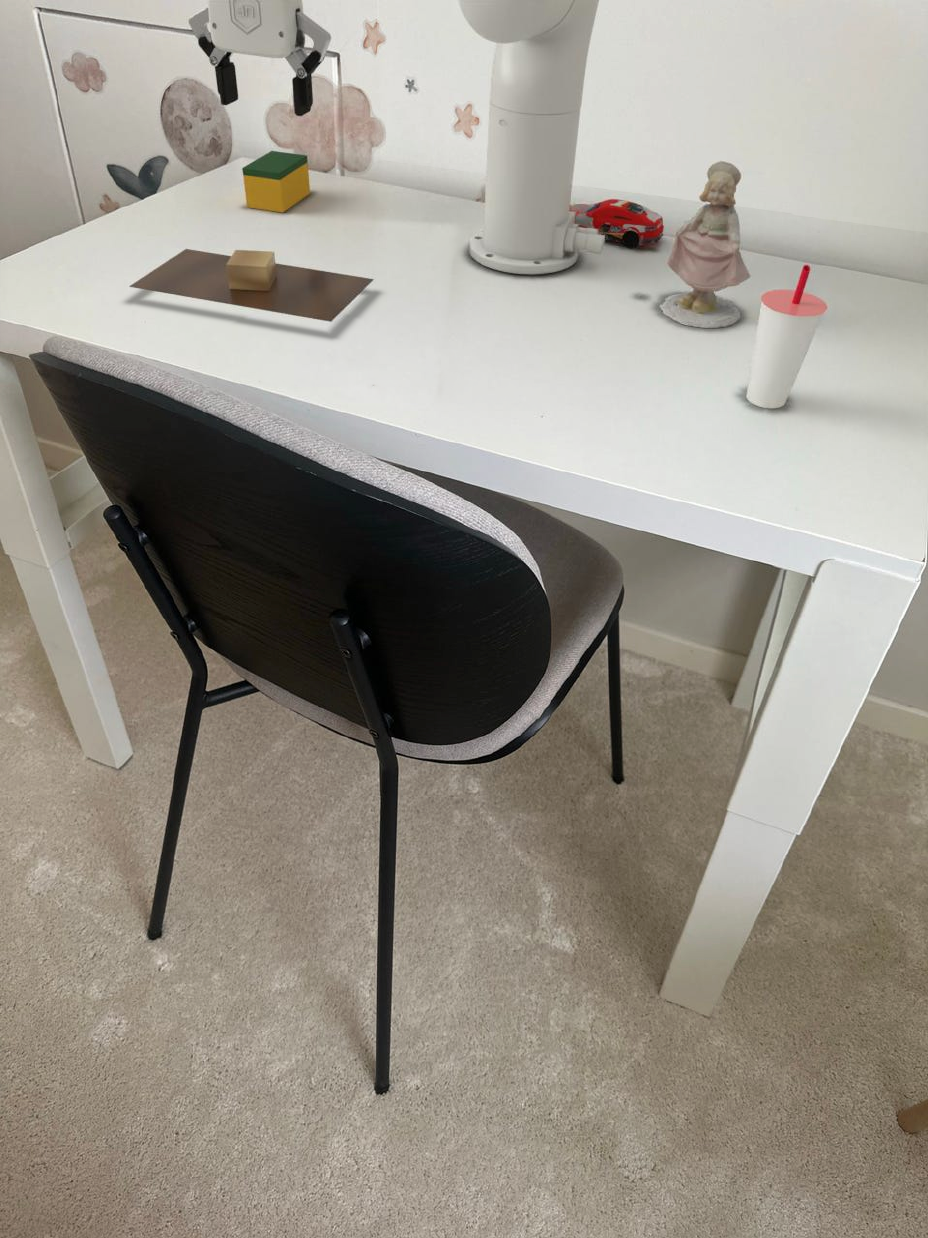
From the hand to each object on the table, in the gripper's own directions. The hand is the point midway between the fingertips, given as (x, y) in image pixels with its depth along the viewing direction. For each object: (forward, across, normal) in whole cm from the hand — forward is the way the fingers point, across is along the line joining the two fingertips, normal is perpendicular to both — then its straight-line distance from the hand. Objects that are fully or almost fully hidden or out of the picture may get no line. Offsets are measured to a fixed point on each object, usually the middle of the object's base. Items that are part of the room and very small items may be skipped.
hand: (266, 107), depth 107 cm
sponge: (+10, +1, 0) cm, 11 cm away
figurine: (+10, +55, -14) cm, 57 cm away
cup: (+9, +64, -31) cm, 72 cm away
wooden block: (+9, +12, -28) cm, 32 cm away
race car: (+10, +43, +4) cm, 44 cm away
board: (+10, +12, -28) cm, 32 cm away
